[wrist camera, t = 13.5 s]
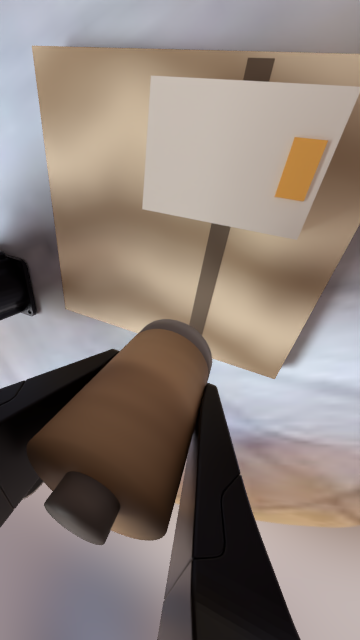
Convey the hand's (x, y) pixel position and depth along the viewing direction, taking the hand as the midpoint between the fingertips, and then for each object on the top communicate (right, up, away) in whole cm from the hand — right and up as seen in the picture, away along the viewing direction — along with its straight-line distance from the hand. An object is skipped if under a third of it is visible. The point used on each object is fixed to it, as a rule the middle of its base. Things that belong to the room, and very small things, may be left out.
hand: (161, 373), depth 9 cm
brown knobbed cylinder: (0, +1, +1) cm, 2 cm away
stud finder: (+4, +10, +2) cm, 11 cm away
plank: (+1, +8, +6) cm, 10 cm away
